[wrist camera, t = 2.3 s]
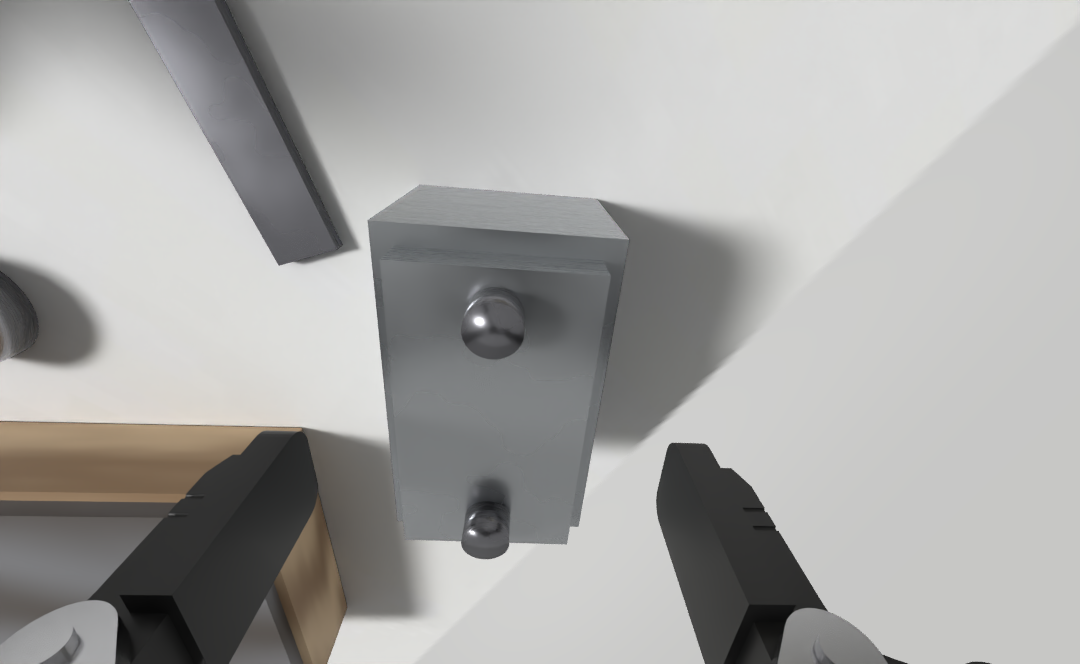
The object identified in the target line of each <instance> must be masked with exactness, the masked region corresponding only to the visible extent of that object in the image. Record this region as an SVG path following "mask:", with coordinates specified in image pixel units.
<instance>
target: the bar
mask: <svg viewBox="0 0 1080 664" xmlns="http://www.w3.org/2000/svg"><path fill="white" fill-rule="evenodd" d="M128 1H129V2H130V4H131V6H132V8H133V9H134V11H135V13H136V15H137V16H138V18H139V20H140V22H141V24H142V25H143V27H144V29H145V31H146V32H147V34H148V36H149V38H150V39H151V41H152V43H153V45H154V46H155V48H156V50H157V52H158V53H159V55H160V57H161V59H162V61H163V62H164V64H165V66H166V68H167V69H168V71H169V73H170V75H171V76H172V78H173V80H174V82H175V83H176V85H177V87H178V89H179V90H180V92H181V94H182V96H183V98H184V99H185V101H186V103H187V105H188V106H189V108H190V110H191V112H192V113H193V115H194V117H195V119H196V120H197V122H198V124H199V126H200V128H201V129H202V131H203V133H204V135H205V136H206V138H207V140H208V142H209V143H210V145H211V147H212V149H213V150H214V152H215V154H216V156H217V157H218V159H219V161H220V163H221V165H222V166H223V168H224V170H225V172H226V173H227V175H228V177H229V179H230V180H231V182H232V184H233V186H234V187H235V189H236V191H237V193H238V194H239V196H240V198H241V200H242V202H243V203H244V205H245V207H246V209H247V210H248V212H249V214H250V216H251V217H252V219H253V221H254V223H255V224H256V226H257V228H258V230H259V231H260V233H261V235H262V237H263V239H264V240H265V242H266V244H267V246H268V247H269V249H270V251H271V253H272V254H273V256H274V258H275V260H276V261H277V263H278V265H283V264H286V263H290V262H293V261H297V260H301V259H304V258H308V257H311V256H315V255H319V254H322V253H326V252H329V251H333V250H337V249H338V248H339V247H341V246H342V245H343V244H342V242H341V240H340V238H339V236H338V234H337V232H336V230H335V228H334V226H333V224H332V222H331V220H330V217H329V215H328V213H327V211H326V209H325V207H324V205H323V203H322V201H321V199H320V197H319V195H318V193H317V191H316V188H315V186H314V184H313V182H312V180H311V178H310V176H309V174H308V172H307V170H306V168H305V166H304V164H303V162H302V159H301V157H300V155H299V153H298V151H297V149H296V147H295V145H294V143H293V141H292V139H291V137H290V135H289V133H288V130H287V128H286V126H285V124H284V122H283V120H282V118H281V116H280V114H279V112H278V110H277V108H276V106H275V104H274V101H273V99H272V97H271V95H270V93H269V91H268V89H267V87H266V85H265V83H264V81H263V79H262V77H261V75H260V72H259V70H258V68H257V66H256V64H255V62H254V60H253V58H252V56H251V54H250V52H249V50H248V48H247V46H246V44H245V41H244V39H243V37H242V35H241V33H240V31H239V29H238V27H237V25H236V23H235V21H234V19H233V17H232V15H231V12H230V10H229V8H228V6H227V4H226V2H225V0H128Z"/></svg>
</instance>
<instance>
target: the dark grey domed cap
mask: <svg viewBox="0 0 1080 664" xmlns="http://www.w3.org/2000/svg"><path fill="white" fill-rule="evenodd" d="M38 327H39V326H38V319H37V316H36V313H35V311H34V308H33V306H32V304H31V303H30V301H29V299H28V298H27V297H26V295H25V294H24V293H23V291H22V290H21V289H20V288H19V287H18V286H17V285H16V284H15V283H14V282H13V281H12V280H11V279H10V278H9V277H7V276H6V275H5V274H4V273H2V272H1V271H0V362H1V361H3V360H6V359H8V358H10V357H12V356H14V355H16V354H18V353H20V352H22V351H25V350H27V349H28V348H29V347H30V346H31V345H32V344H33V343H34V342H35V340H36V338H37V335H38Z"/></svg>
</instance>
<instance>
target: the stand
mask: <svg viewBox="0 0 1080 664" xmlns="http://www.w3.org/2000/svg"><path fill="white" fill-rule="evenodd" d="M266 430H269V431H301V432H303V431H302V428H281V427H234V426H187V425H139V424H92V423H44V422H0V645H1V644H2V643H4V642H5V641H6V640H7V639H8V638H10V637H11V636H12V635H14V634H15V633H16V632H17V631H19V630H20V629H22V628H23V627H25V626H26V625H28V624H29V623H31V622H33V621H35V620H36V619H38V618H40V617H42V616H43V615H45V614H48V613H50V612H52V611H54V610H56V609H59V608H61V607H64V606H67V605H70V604H74V603H77V602H82V601H87V600H88V599H89V598H90V597H91V596H92V595H93V594H94V593H95V592H96V591H97V590H98V589H99V588H100V586H101V585H102V584H103V583H104V582H105V581H106V580H107V579H108V578H109V577H110V576H111V575H112V573H113V572H114V571H115V570H116V569H117V568H118V567H119V566H120V565H121V564H122V563H123V561H124V560H125V559H126V558H127V557H128V556H129V555H130V554H131V553H132V552H133V551H134V550H135V548H136V547H137V546H138V545H139V544H140V543H141V542H142V541H143V540H144V539H145V538H146V537H147V535H148V534H149V533H150V532H151V531H152V530H153V529H154V528H155V527H156V526H157V525H158V524H159V522H160V521H161V520H162V519H163V518H167V517H168V515H169V512H170V511H171V509H172V508H173V507H174V506H175V505H176V504H177V503H178V502H179V501H180V500H181V499H184V498H185V496H186V493H187V492H188V491H189V490H190V489H191V488H192V487H193V486H194V484H195V483H196V482H197V481H198V480H199V479H200V478H201V477H202V476H203V475H204V474H205V473H206V472H207V471H209V470H210V469H212V468H213V467H215V466H216V465H218V464H219V463H221V462H222V461H224V460H225V459H227V458H228V457H230V456H231V455H241V453H242V452H243V451H244V450H245V449H246V448H247V446H248V445H249V444H250V443H251V442H252V441H253V440H254V438H255V437H256V436H257V435H258V434H259V433H261V432H262V431H266ZM346 610H347V604H346V600H345V596H344V592H343V588H342V584H341V580H340V576H339V573H338V569H337V565H336V561H335V557H334V553H333V549H332V545H331V541H330V537H329V533H328V529H327V525H326V521H325V517H324V513H323V510H322V506H321V502H320V498H319V494H317V500H316V504H315V507H314V510H313V512H312V514H311V516H310V518H309V520H308V522H307V524H306V525H305V527H304V529H303V531H302V533H301V534H300V536H299V538H298V540H297V542H296V543H295V545H294V547H293V549H292V551H291V552H290V554H289V556H288V558H287V560H286V561H285V563H284V565H283V567H282V569H281V570H280V572H279V574H278V576H277V578H276V579H275V581H274V583H273V585H272V587H271V589H270V590H269V592H268V594H267V596H266V598H265V599H264V601H263V603H262V605H261V607H260V608H259V610H258V612H257V614H256V616H255V617H254V619H253V621H252V623H251V625H250V626H249V628H248V630H247V632H246V634H245V635H244V637H243V639H242V641H241V643H240V644H239V646H238V648H237V650H236V652H235V654H234V655H233V657H232V659H231V661H230V663H229V664H327V662H328V659H329V657H330V654H331V651H332V648H333V646H334V643H335V640H336V637H337V635H338V632H339V629H340V626H341V624H342V621H343V618H344V615H345V612H346Z"/></svg>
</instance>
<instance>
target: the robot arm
mask: <svg viewBox="0 0 1080 664" xmlns="http://www.w3.org/2000/svg"><path fill="white" fill-rule="evenodd" d="M317 494H318V484H317V479H316V475H315V470H314V466H313V462H312V457H311V453H310V449H309V444H308V440H307V437H306V435H305V434H304V433H303V432H301V431H269V430H266V431H262V432H261V433H259V434H258V435H257V436H256V437H255V438H254V440H253V441H252V442H251V443H250V444H249V445H248V446H247V448H246V449H245V450H244V451H243V452H242V453H241V455H231V456H230V457H228V458H227V459H225V460H224V461H222V462H221V463H219V464H218V465H216V466H215V467H213V468H212V469H210V470H209V471H207V472H206V473H205V474H204V475H203V476H202V477H201V478H200V479H199V480H198V481H197V482H196V483H195V484H194V486H193V487H192V488H191V489H190V490H189V491H188V492H187V493H186V496H185V498H184V499H181V500H180V501H179V502H178V503H177V504H176V505H175V506H174V507H173V508H172V509H171V511H170V512H169V515H168V517H167V518H163V519H162V520H161V521H160V522H159V524H158V525H157V526H156V527H155V528H154V529H153V530H152V531H151V532H150V533H149V534H148V535H147V537H146V538H145V539H144V540H143V541H142V542H141V543H140V544H139V545H138V546H137V547H136V548H135V550H134V551H133V552H132V553H131V554H130V555H129V556H128V557H127V558H126V559H125V560H124V561H123V563H122V564H121V565H120V566H119V567H118V568H117V569H116V570H115V571H114V572H113V573H112V575H111V576H110V577H109V578H108V579H107V580H106V581H105V582H104V583H103V584H102V585H101V586H100V588H99V589H98V590H97V591H96V592H95V593H94V594H93V595H92V596H91V597H90V598H89V599H88V600H87V601H82V602H77V603H74V604H70V605H67V606H64V607H61V608H59V609H56V610H54V611H52V612H50V613H48V614H45V615H43V616H42V617H40V618H38V619H36V620H35V621H33V622H31V623H29V624H28V625H26V626H25V627H23V628H22V629H20V630H19V631H17V632H16V633H15V634H14V635H12V636H11V637H10V638H8V639H7V640H6V641H5V642H4V643H2V644H1V645H0V664H229V663H230V661H231V659H232V657H233V655H234V654H235V652H236V650H237V648H238V646H239V644H240V643H241V641H242V639H243V637H244V635H245V634H246V632H247V630H248V628H249V626H250V625H251V623H252V621H253V619H254V617H255V616H256V614H257V612H258V610H259V608H260V607H261V605H262V603H263V601H264V599H265V598H266V596H267V594H268V592H269V590H270V589H271V587H272V585H273V583H274V581H275V579H276V578H277V576H278V574H279V572H280V570H281V569H282V567H283V565H284V563H285V561H286V560H287V558H288V556H289V554H290V552H291V551H292V549H293V547H294V545H295V543H296V542H297V540H298V538H299V536H300V534H301V533H302V531H303V529H304V527H305V525H306V524H307V522H308V520H309V518H310V516H311V514H312V512H313V510H314V507H315V504H316V500H317ZM656 503H657V515H658V520H659V523H660V526H661V529H662V532H663V536H664V539H665V542H666V545H667V548H668V551H669V554H670V557H671V560H672V563H673V566H674V569H675V572H676V576H677V578H678V581H679V585H680V588H681V591H682V594H683V597H684V600H685V603H686V606H687V610H688V613H689V616H690V619H691V622H692V625H693V628H694V631H695V634H696V637H697V640H698V643H699V646H700V650H701V653H702V656H703V659H704V661H705V664H907V663H904V662H901V661H898V660H895V659H892V658H890V657H887V656H885V655H882V654H881V652H880V651H879V650H878V649H877V647H876V646H875V645H874V644H873V643H872V642H871V641H870V640H869V638H868V637H867V636H865V635H864V634H863V633H862V632H861V631H860V630H859V629H857V628H856V627H855V626H853V625H852V624H851V623H849V622H848V621H846V620H844V619H842V618H841V617H839V616H837V615H835V614H833V613H830V612H828V611H827V609H826V608H825V606H824V605H823V603H822V602H821V600H820V598H819V597H818V595H817V593H816V592H815V590H814V589H813V587H812V585H811V584H810V582H809V580H808V579H807V577H806V575H805V574H804V572H803V571H802V569H801V567H800V566H799V564H798V562H797V561H796V559H795V557H794V556H793V554H792V552H791V551H790V549H789V548H788V546H787V544H786V543H785V541H784V539H783V538H782V536H781V534H780V533H779V531H776V529H775V527H776V526H775V525H774V523H773V521H772V520H771V518H770V516H769V515H768V513H767V512H765V511H764V506H763V505H762V503H761V502H760V501H759V498H758V497H757V495H756V493H755V492H754V490H753V489H752V487H751V486H750V485H749V484H748V483H747V482H746V481H745V480H743V479H742V478H741V477H740V476H739V475H738V474H737V473H736V472H734V470H732V469H731V468H720V466H719V464H718V463H717V461H716V459H715V457H714V455H713V454H712V452H711V450H710V448H709V447H708V446H707V445H706V444H695V443H671V444H670V445H669V446H668V449H667V452H666V457H665V461H664V465H663V469H662V474H661V478H660V482H659V487H658V491H657V499H656ZM967 664H990V663H985V662H970V663H967Z"/></svg>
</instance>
